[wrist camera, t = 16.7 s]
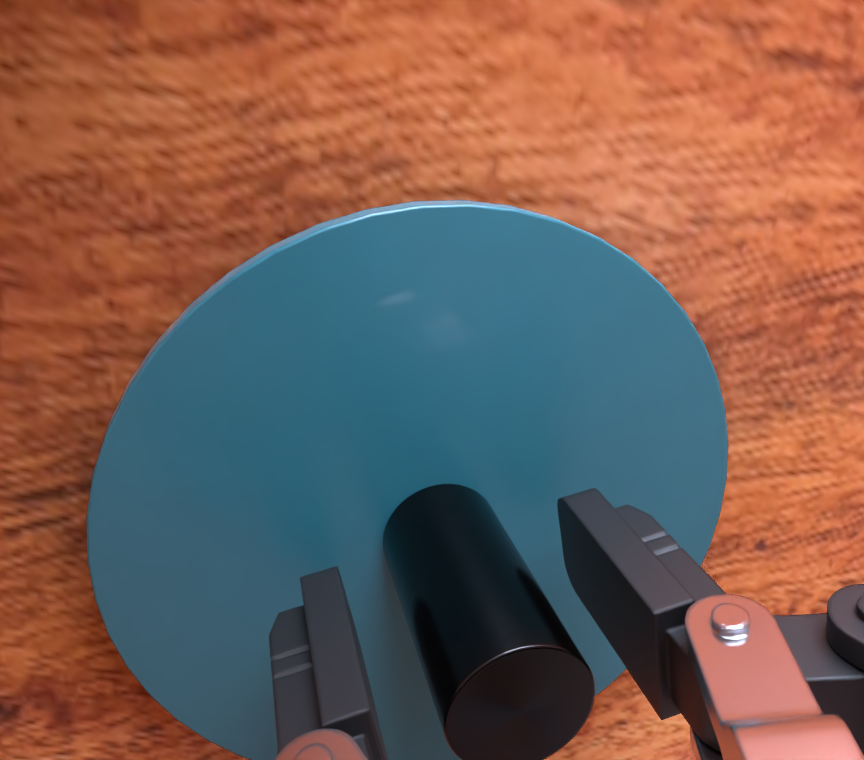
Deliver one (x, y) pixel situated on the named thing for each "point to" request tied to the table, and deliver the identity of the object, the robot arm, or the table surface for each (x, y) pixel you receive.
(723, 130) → the table surface
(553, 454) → the lid
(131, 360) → the table surface
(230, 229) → the table surface
